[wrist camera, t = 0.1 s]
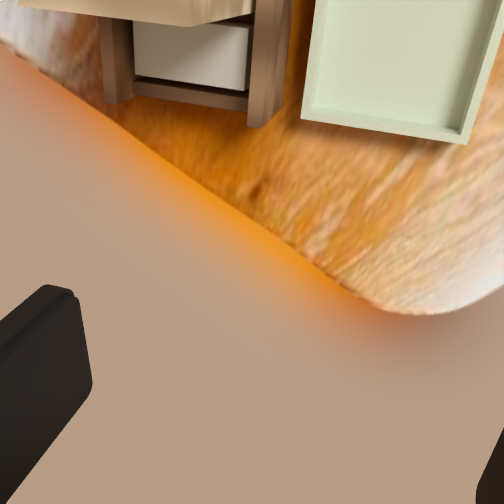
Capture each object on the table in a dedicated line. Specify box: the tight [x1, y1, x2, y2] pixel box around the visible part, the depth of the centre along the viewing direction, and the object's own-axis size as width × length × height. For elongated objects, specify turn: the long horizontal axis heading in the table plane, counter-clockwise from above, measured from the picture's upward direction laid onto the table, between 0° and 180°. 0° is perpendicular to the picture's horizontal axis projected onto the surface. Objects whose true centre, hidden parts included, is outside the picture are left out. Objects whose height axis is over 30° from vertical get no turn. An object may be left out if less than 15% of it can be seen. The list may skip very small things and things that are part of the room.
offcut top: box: [133, 20, 254, 91], centre depth 35 cm, size 4×8×2 cm, turn 85°
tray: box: [300, 0, 504, 145], centre depth 33 cm, size 12×12×2 cm
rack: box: [98, 0, 294, 129], centre depth 34 cm, size 12×12×6 cm
